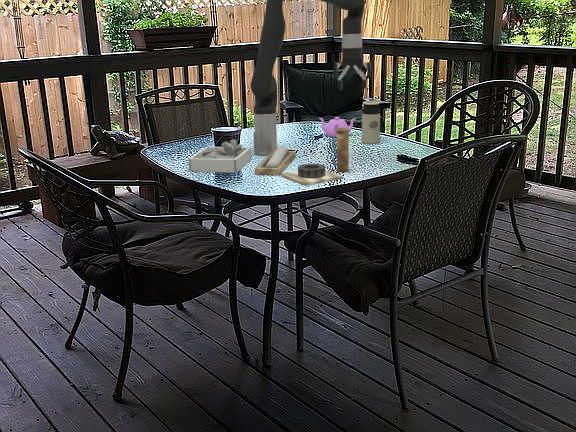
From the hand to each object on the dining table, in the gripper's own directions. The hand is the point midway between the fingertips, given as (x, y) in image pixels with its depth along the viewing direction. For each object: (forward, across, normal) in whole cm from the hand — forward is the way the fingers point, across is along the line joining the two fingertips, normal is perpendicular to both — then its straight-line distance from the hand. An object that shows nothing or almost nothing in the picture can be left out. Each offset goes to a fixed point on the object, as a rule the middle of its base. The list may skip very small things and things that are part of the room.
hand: (352, 90), depth 252 cm
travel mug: (+29, +4, +40) cm, 49 cm away
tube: (+28, -29, -7) cm, 41 cm away
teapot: (+28, -13, +55) cm, 63 cm away
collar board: (+28, -12, -24) cm, 39 cm away
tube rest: (+28, -29, -7) cm, 41 cm away
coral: (+28, -51, -10) cm, 59 cm away
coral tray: (+28, -51, -9) cm, 59 cm away
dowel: (+28, -2, -13) cm, 31 cm away
